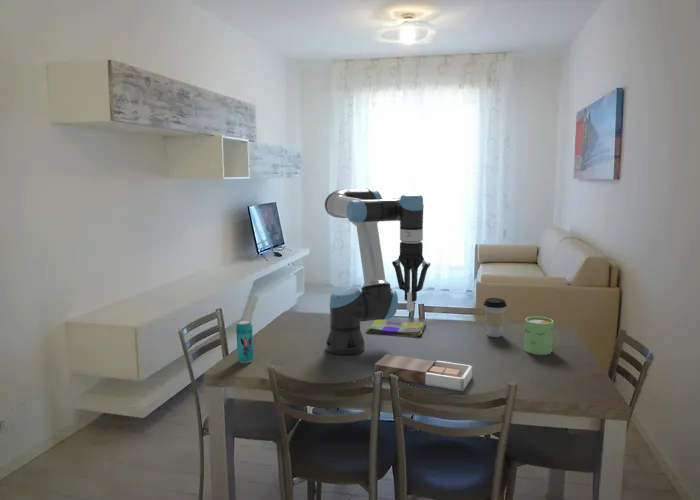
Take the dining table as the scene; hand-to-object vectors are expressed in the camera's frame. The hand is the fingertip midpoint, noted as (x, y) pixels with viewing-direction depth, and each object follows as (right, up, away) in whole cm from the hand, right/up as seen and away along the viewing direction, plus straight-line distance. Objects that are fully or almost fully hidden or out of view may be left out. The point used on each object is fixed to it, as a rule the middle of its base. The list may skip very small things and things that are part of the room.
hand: (410, 310), depth 187 cm
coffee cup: (+40, -15, +45) cm, 62 cm away
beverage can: (-59, -21, +17) cm, 65 cm away
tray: (+13, -23, -3) cm, 26 cm away
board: (-2, -22, +3) cm, 22 cm away
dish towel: (0, -15, +54) cm, 56 cm away
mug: (+53, -18, +25) cm, 61 cm away
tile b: (+13, -20, -4) cm, 24 cm away
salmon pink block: (+9, -22, -2) cm, 24 cm away
